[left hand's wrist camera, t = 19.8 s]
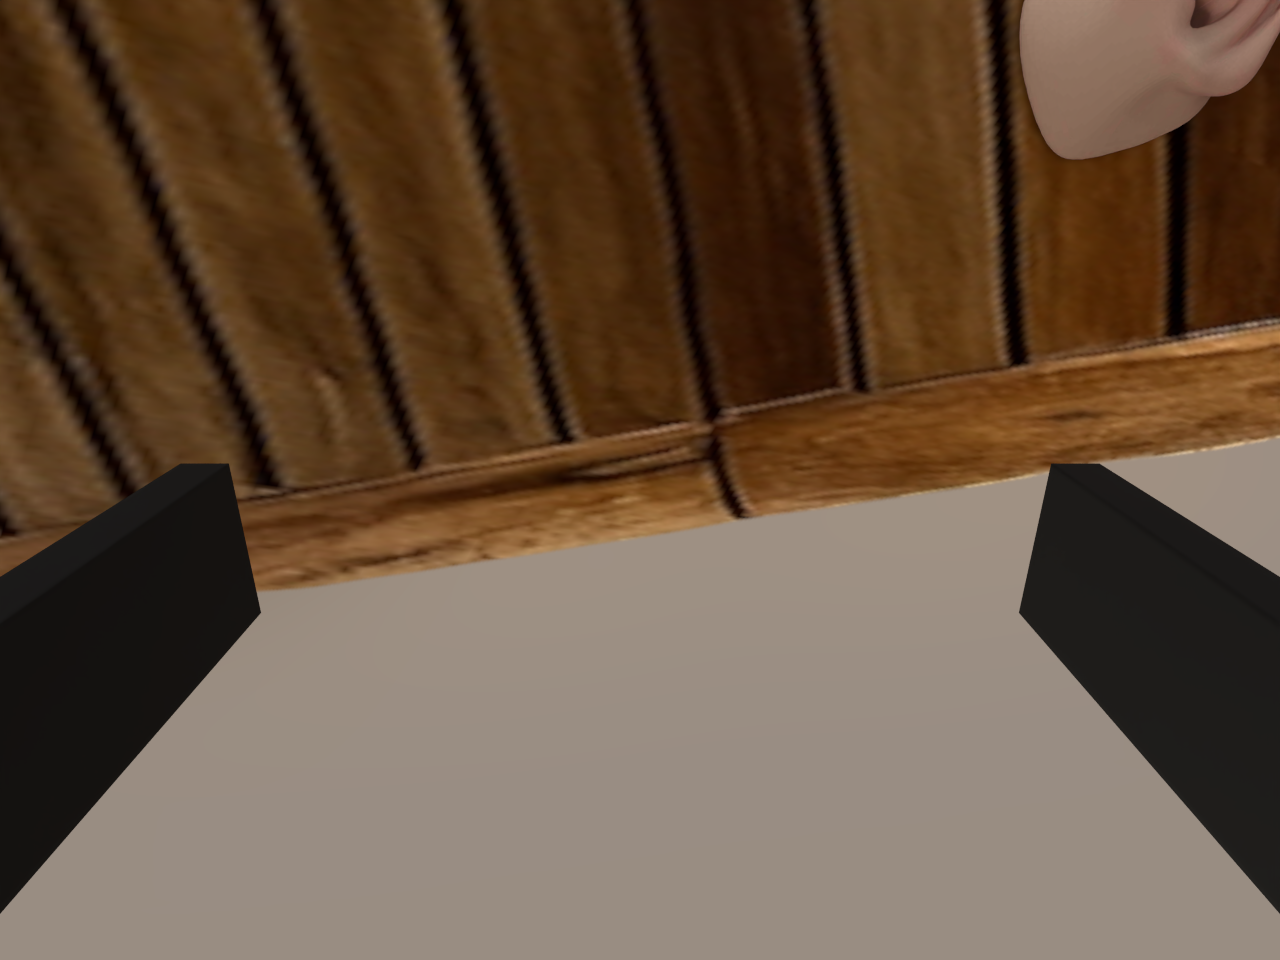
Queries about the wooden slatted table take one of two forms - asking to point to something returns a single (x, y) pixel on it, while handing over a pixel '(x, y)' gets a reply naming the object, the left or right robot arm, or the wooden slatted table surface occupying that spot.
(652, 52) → the wooden slatted table surface
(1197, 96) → the anatomical model
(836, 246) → the wooden slatted table surface
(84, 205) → the wooden slatted table surface
